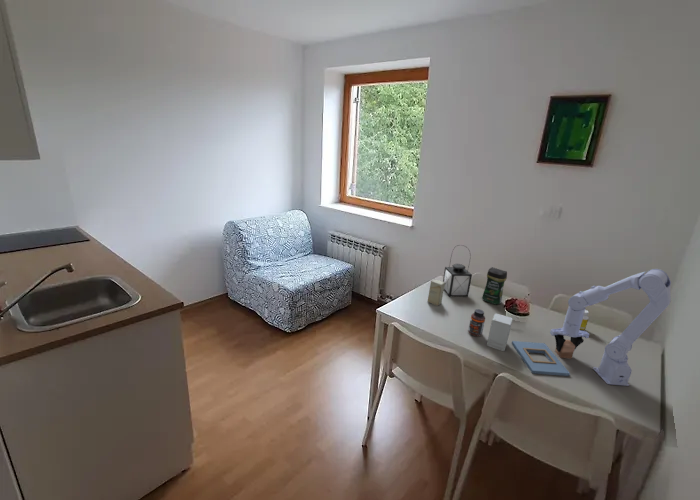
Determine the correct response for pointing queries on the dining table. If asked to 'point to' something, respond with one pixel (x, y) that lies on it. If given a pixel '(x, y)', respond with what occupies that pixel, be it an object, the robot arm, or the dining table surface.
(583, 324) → the supplement bottle
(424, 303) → the dining table surface
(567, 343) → the block
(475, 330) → the supplement bottle
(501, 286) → the coffee jar
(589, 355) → the dining table surface
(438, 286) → the skincare box
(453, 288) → the lantern
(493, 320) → the supplement box
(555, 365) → the blue board with hole
